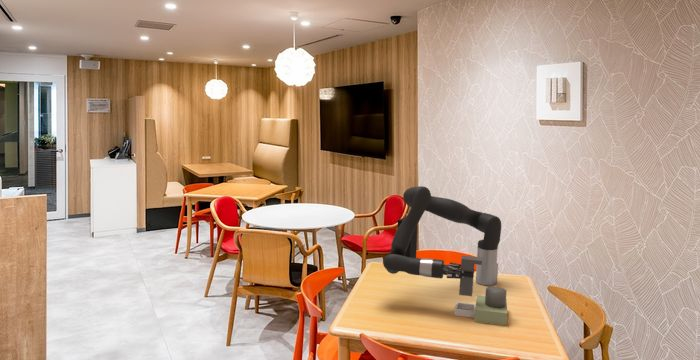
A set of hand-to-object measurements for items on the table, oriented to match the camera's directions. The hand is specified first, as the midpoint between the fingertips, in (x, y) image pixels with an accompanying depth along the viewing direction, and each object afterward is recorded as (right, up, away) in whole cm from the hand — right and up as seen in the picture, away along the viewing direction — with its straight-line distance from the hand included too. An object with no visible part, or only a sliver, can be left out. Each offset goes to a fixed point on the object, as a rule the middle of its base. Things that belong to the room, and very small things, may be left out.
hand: (473, 272), depth 206 cm
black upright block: (-20, -8, +63) cm, 67 cm away
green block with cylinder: (+3, -17, +2) cm, 17 cm away
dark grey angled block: (-1, -9, +2) cm, 9 cm away
